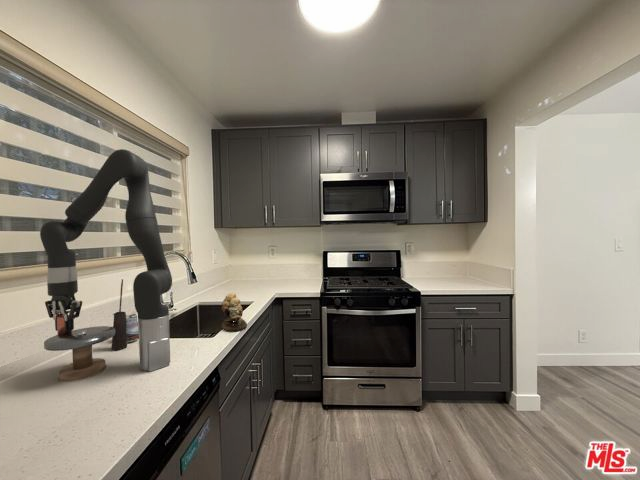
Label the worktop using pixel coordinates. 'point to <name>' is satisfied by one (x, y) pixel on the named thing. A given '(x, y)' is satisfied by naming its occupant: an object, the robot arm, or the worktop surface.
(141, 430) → the worktop surface
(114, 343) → the butter churn
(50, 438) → the worktop surface
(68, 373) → the wheel stand
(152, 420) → the worktop surface
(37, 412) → the worktop surface
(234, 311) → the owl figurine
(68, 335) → the grey disc with knob
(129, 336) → the beverage can
